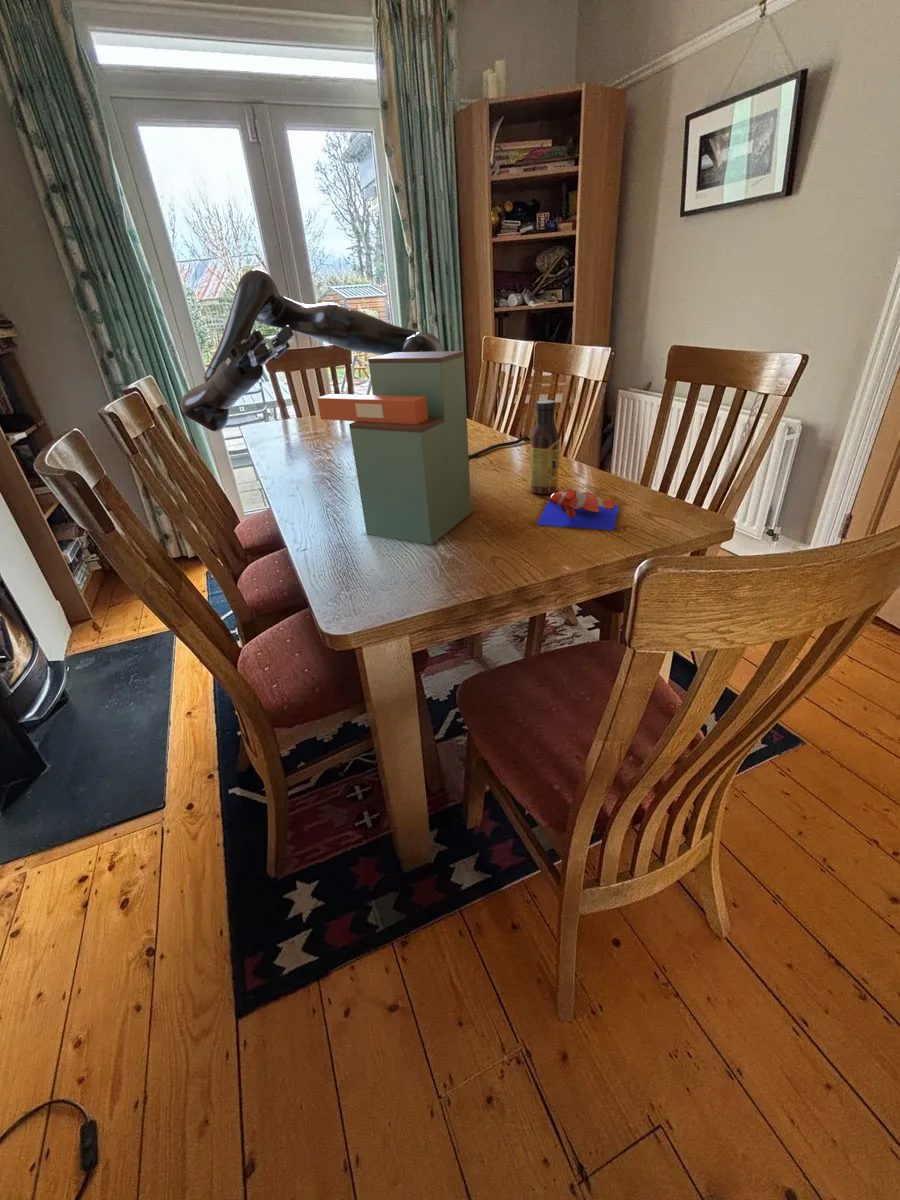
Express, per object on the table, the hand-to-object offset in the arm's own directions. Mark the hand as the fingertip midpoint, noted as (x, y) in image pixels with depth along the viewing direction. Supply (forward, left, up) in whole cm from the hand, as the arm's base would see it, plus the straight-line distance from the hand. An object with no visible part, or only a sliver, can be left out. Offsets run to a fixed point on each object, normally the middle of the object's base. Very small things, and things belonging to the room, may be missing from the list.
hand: (275, 331), depth 107 cm
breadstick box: (-3, +26, -15) cm, 30 cm away
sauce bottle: (-40, +37, -37) cm, 66 cm away
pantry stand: (-9, +30, -37) cm, 48 cm away
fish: (-33, +52, -37) cm, 72 cm away
